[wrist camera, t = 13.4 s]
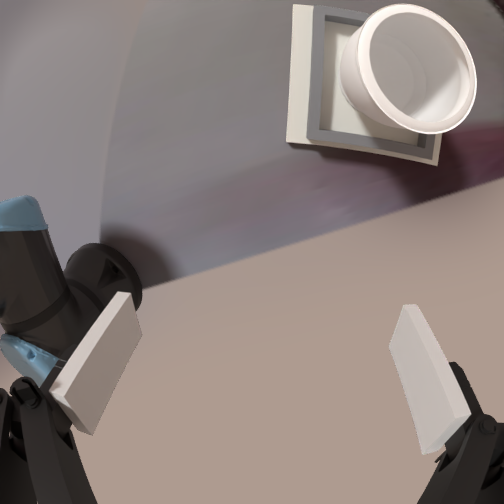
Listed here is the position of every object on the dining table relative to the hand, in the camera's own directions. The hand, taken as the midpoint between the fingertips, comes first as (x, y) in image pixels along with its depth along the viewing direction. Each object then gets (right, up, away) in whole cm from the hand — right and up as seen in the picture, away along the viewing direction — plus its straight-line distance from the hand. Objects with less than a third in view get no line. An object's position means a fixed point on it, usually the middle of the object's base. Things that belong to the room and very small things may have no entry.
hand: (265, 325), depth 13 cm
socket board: (+14, +24, +16) cm, 32 cm away
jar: (+13, +23, +15) cm, 31 cm away
